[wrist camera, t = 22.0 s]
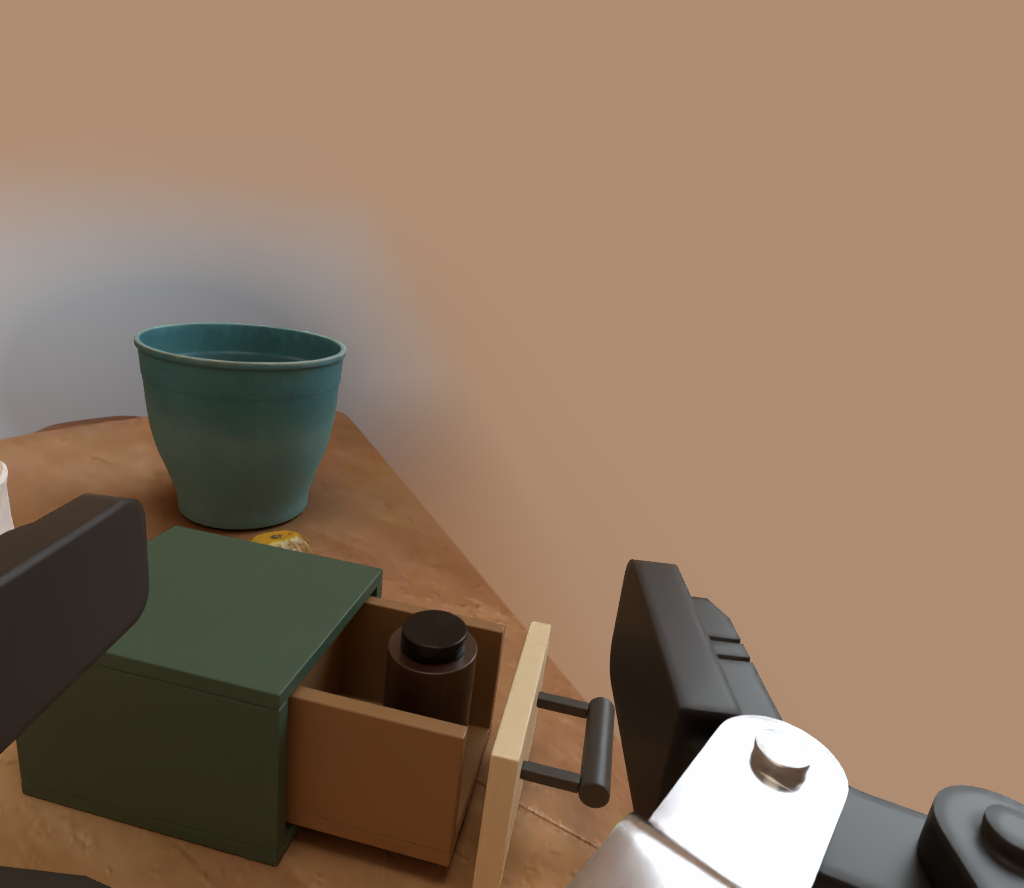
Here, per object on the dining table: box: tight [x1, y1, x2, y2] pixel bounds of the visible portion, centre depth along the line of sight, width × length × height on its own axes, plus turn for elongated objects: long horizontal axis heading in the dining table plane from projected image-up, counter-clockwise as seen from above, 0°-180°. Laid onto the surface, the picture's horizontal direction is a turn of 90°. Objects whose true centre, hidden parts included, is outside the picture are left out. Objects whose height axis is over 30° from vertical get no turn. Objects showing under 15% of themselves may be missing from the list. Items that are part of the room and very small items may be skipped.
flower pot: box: [134, 323, 346, 529], centre depth 62 cm, size 18×18×17 cm
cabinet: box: [16, 526, 383, 866], centre depth 35 cm, size 14×12×10 cm
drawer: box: [285, 596, 615, 888], centre depth 33 cm, size 17×10×8 cm, turn 79°
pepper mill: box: [383, 610, 478, 727], centre depth 33 cm, size 4×4×8 cm
